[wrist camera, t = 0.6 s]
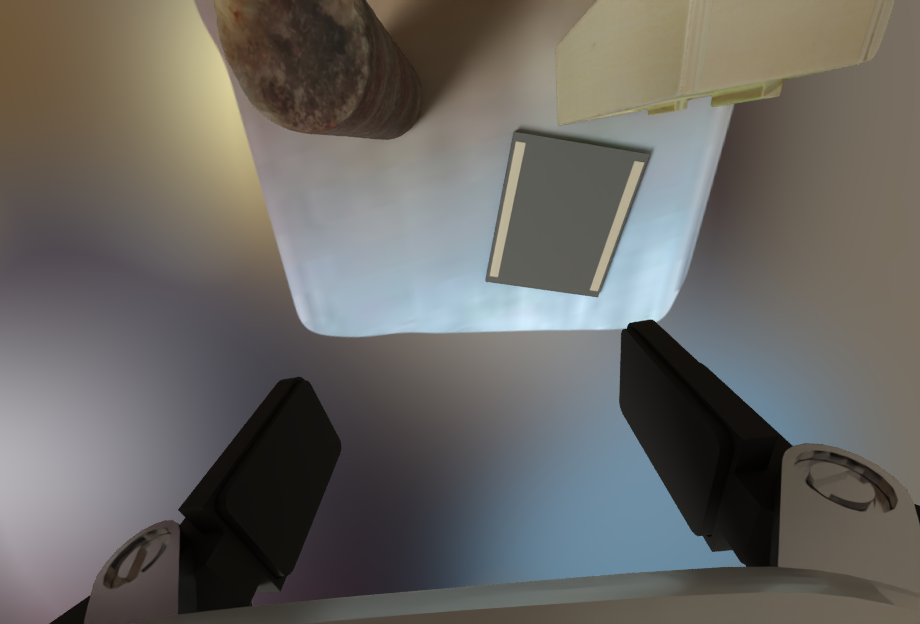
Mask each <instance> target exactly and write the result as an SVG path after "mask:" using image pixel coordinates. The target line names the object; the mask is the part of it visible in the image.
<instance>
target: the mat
mask: <svg viewBox="0 0 920 624" xmlns="http://www.w3.org/2000/svg"><path fill="white" fill-rule="evenodd" d="M649 155H650V154H644V153H638V152H632V151H626V150H620V149H614V148H608V147H602V146H596V145H590V144H584V143H578V142H572V141H566V140H560V139H554V138H548V137H542V136H536V135H530V134H524V133H518V132H514V133H513V138H512V143H511V149H510V154H509V159H508V164H507V170H506V175H505V180H504V185H503V190H502V196H501V201H500V206H499V211H498V217H497V222H496V227H495V232H494V238H493V243H492V248H491V253H490V258H489V264H488V269H487V274H486V282H492V283H500V284H507V285H514V286H521V287H528V288H535V289H542V290H550V291H557V292H564V293H571V294H578V295H585V296H592V297H598V295H599V293H600V290H601V287H602V284H603V282H604V279H605V276H606V273H607V271H608V268H609V265H610V262H611V260H612V257H613V254H614V251H615V249H616V246H617V243H618V241H619V238H620V235H621V232H622V230H623V227H624V224H625V221H626V219H627V216H628V213H629V210H630V208H631V205H632V202H633V199H634V197H635V194H636V191H637V188H638V186H639V183H640V180H641V177H642V175H643V172H644V169H645V166H646V164H647V161H648V158H649Z"/></svg>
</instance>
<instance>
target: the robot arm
mask: <svg viewBox="0 0 920 624" xmlns="http://www.w3.org/2000/svg"><path fill="white" fill-rule="evenodd" d="M619 403H620V408H621V411H622V413H623V415H624V417H625V418H626V420H627V422H628V424H629V425H630V427H631V429H632V431H633V432H634V434H635V436H636V437H637V439H638V441H639V442H640V444H641V446H642V447H643V449H644V451H645V453H646V454H647V456H648V458H649V459H650V461H651V463H652V464H653V466H654V468H655V470H656V471H657V473H658V474H659V476H660V478H661V480H662V481H663V483H664V485H665V486H666V488H667V490H668V491H669V493H670V495H671V497H672V498H673V500H674V502H675V504H676V505H677V507H678V509H679V510H680V512H681V514H682V515H683V517H684V519H685V520H686V522H687V524H688V525H689V527H690V529H691V530H692V532H693V533H694V534H695V535H697V536H703V537H704V539H705V541H706V542H707V544H708V546H709V547H710V549H711V551H712V552H715V551H727V550H733V551H734V553H735V554H736V556H737V557H738V559H739V560H740V562H741V563H743V564H745V565H746V567H720V568H704V569H688V570H674V571H673V570H672V571H657V572H640V573H627V574H614V575H602V576H590V577H578V578H566V579H554V580H541V581H529V582H516V583H505V584H492V585H482V586H469V587H458V588H448V589H447V588H446V589H435V590H424V591H412V592H402V593H391V594H378V595H367V596H356V597H345V598H334V599H324V600H313V601H303V602H293V603H281V604H272V605H271V604H270V605H260V606H253V604H252V598H253V596H254V594H255V592H256V589H257V590H258V591H259V592H260V593H269V592H279V591H281V589H282V586H283V584H284V581H285V579H286V577H287V576H288V575H289V574H290V573H291V572H292V571H293V569H294V567H295V565H296V562H297V560H298V557H299V555H300V552H301V550H302V547H303V545H304V542H305V540H306V537H307V535H308V532H309V529H310V527H311V525H312V522H313V520H314V517H315V515H316V512H317V510H318V507H319V504H320V502H321V500H322V497H323V495H324V492H325V490H326V487H327V485H328V482H329V480H330V477H331V475H332V472H333V470H334V467H335V465H336V462H337V460H338V457H339V455H340V452H341V441H340V439H339V437H338V435H337V433H336V431H335V430H334V428H333V426H332V424H331V422H330V420H329V418H328V416H327V414H326V412H325V410H324V409H323V407H322V405H321V403H320V401H319V399H318V397H317V395H316V393H315V392H314V390H313V388H312V386H311V384H310V383H309V382H308V381H305V380H304V379H303V378H301V377H296V378H290V379H283V380H280V381H279V382H278V383H277V384H276V385H275V387H274V388H273V389H272V390H271V392H270V393H269V394H268V396H267V397H266V398H265V400H264V401H263V402H262V403H261V405H260V406H259V407H258V408H257V410H256V411H255V412H254V414H253V415H252V416H251V417H250V419H249V420H248V421H247V422H246V424H245V425H244V426H243V428H242V429H241V430H240V431H239V433H238V434H237V435H236V437H235V438H234V439H233V441H232V442H231V443H230V444H229V445H228V447H227V448H226V449H225V451H224V452H223V453H222V455H221V456H220V457H219V458H218V460H217V461H216V462H215V463H214V465H213V466H212V467H211V468H210V470H209V471H208V472H207V474H206V475H205V476H204V477H203V479H202V480H201V481H200V483H199V484H198V485H197V486H196V488H195V489H194V490H193V492H192V493H191V494H190V495H189V497H188V498H187V499H186V500H185V502H184V503H183V504H182V506H181V507H180V508H179V509H178V510H179V511H180V512H181V513H182V514H183V515H184V516H185V517H186V518H185V519H184V520H183V522H182V523H181V524H180V525H179V524H178V523H177V522H175V521H173V520H165V521H162V522H159V523H156V524H153V525H151V526H149V527H148V528H146V529H144V530H142V531H140V532H139V533H138V534H136V535H135V536H133V537H132V538H130V539H129V540H128V541H127V542H126V543H125V544H123V545H122V546H121V547H120V548H119V549H118V550H117V551H116V552H115V553H114V554H113V555H112V556H111V557H110V559H109V560H108V561H107V562H106V563H105V565H104V566H103V567H102V569H101V570H100V572H99V573H98V575H97V577H96V580H95V582H94V584H93V588H92V592H91V595H90V596H88V597H87V598H86V599H84V600H83V601H81V602H80V603H78V604H77V605H76V606H74V607H73V608H71V609H70V610H68V611H67V612H66V613H64V614H63V615H61V616H60V617H58V618H57V619H55V620H54V621H53V622H51V623H50V624H920V506H919V505H916V504H914V502H913V500H912V499H911V496H910V495H909V493H908V491H907V489H905V487H904V486H903V485H902V484H901V483H900V482H899V481H898V480H897V479H896V478H895V477H894V476H892V475H891V474H889V473H888V472H887V471H885V470H884V469H882V468H881V467H880V466H878V465H877V464H875V463H873V462H871V461H869V460H867V459H865V458H863V457H861V456H859V455H857V454H854V453H851V452H849V451H846V450H843V449H840V448H837V447H832V446H827V445H823V444H808V443H805V444H800V445H795V446H792V445H791V444H790V443H789V442H788V441H786V440H785V438H783V437H782V436H781V435H780V434H779V433H778V432H777V431H776V430H775V429H774V428H772V427H771V426H770V425H769V424H768V423H767V422H766V421H765V420H764V419H763V418H762V417H761V416H759V415H758V414H757V413H756V412H755V411H754V410H753V409H752V408H751V407H750V406H749V405H747V404H746V403H745V402H744V401H743V400H742V399H741V398H740V397H739V396H737V395H736V394H735V393H734V392H733V391H732V390H731V389H730V388H729V387H728V386H727V385H726V384H725V383H723V382H722V381H721V380H720V379H719V378H718V377H717V376H716V375H715V374H714V373H713V372H711V371H710V370H709V369H708V368H707V367H706V366H704V365H703V364H702V363H699V362H698V361H697V360H696V359H695V358H694V357H692V355H690V353H688V352H687V351H686V350H685V349H684V348H683V347H682V346H681V345H680V344H679V343H678V342H677V341H675V340H674V339H673V338H672V337H671V336H670V335H669V334H668V333H667V332H666V331H665V330H664V329H662V328H661V327H660V326H659V325H658V324H657V323H656V322H655V321H653V320H645V321H639V322H633V323H629V324H628V326H627V329H623V330H622V333H621V361H620V396H619Z"/></svg>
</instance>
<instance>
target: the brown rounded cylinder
mask: <svg viewBox="0 0 920 624" xmlns="http://www.w3.org/2000/svg"><path fill="white" fill-rule="evenodd" d="M214 7H215V11H216V15H217V28H218V33H219V37H220V41H221V45H222V47H223V50H224V53H225V57H226V60H227V62H228V63H229V65H230V66H231V68H232V70H233V73H234V74H235V76H236V78H237V80H238V82H239V84H240V86H241V88H242V90H243V92H244V93H245V95H246V96H247V97H248V99H249V101H250V103H251V104H252V105H253V106H254V107H255V108H256V109H257V110H259V111H260V112H261V113H262V114H263V116H265V117H266V118H267V119H268V120H270V121H272V122H274V123H276V124H278V125H280V126H281V127H283V128H286V129H289V130H292V131H296V132H301V133H307V134H320V135H334V136H349V137H360V138H370V139H383V140H384V139H387V140H388V139H394V138H397V137H399V136H401V135H403V134H404V133H406V132H407V131H408V130H410V129H411V127H412V126H413V125H414V123H415V121H416V119H417V117H418V115H419V112H420V109H421V102H422V93H421V86H420V82H419V78H418V76H417V74H416V72H415V70H414V69H413V67H412V66H411V64H410V63H409V61H408V60H407V58H406V57H405V56H404V54H403V53H402V51H401V50H400V48H399V47H398V46H397V45H396V43H395V42H394V41H393V40H392V38H391V36H390V35H389V34H388V32H387V31H386V29H385V28H384V26H383V25H382V23H381V22H380V21H379V19H378V18H377V17H376V15H375V13H374V11H373V10H372V9H371V7H370V6H369V4H368V3H367V2H366V0H214Z"/></svg>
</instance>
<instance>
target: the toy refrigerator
mask: <svg viewBox="0 0 920 624" xmlns="http://www.w3.org/2000/svg"><path fill="white" fill-rule="evenodd" d="M894 3H895V0H596V2H595V3H594V4H593V5H592V6H591V7H590V8H589V10H588V11H587V12H586V13H585V14H584V15H583V16H582V17H581V18H580V20H579V21H578V22H577V23H576V24H575V25H574V26H573V28H572V29H571V30H570V31H569V32H568V33H567V34H566V35H565V37H564V38H563V39H562V40H561V41H560V42H559V43H558V45H557V48H556V59H557V105H558V125H566V124H571V123H577V122H582V121H588V120H593V119H598V118H604V117H609V116H614V115H620V114H626V113H631V112H637V111H642V110H646V109H648V115H654V114H661V113H667V112H674V111H679V110H684V109H686V108H687V101H688V100H692V99H697V98H702V97H707V96H712V101H711V106H712V107H716V106H723V105H729V104H734V103H740V102H746V101H752V100H759V99H764V98H772V97H777V96H779V95H780V92H781V89H782V83H783V80H787V79H792V78H797V77H801V76H805V75H811V74H815V73H820V72H825V71H829V70H834V69H839V68H843V67H848V66H853V65H857V64H862V63H865V62H868V61H869V60H871V59H872V58H873V57H874V56H875V55H876V53H877V51H878V49H879V47H880V44H881V42H882V39H883V36H884V33H885V31H886V27H887V24H888V21H889V18H890V15H891V12H892V9H893V6H894Z"/></svg>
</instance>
